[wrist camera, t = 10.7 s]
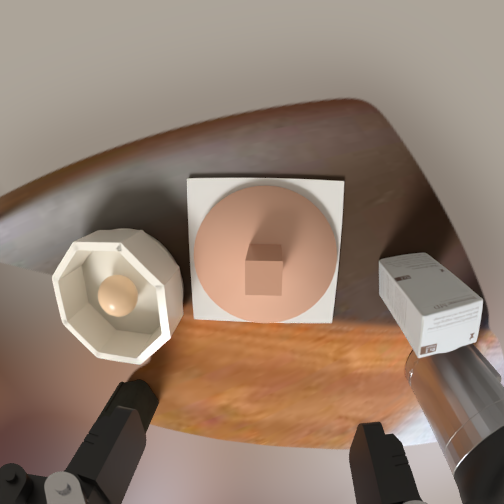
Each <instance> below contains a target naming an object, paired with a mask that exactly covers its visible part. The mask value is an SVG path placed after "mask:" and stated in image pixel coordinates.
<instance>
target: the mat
mask: <svg viewBox="0 0 504 504" xmlns="http://www.w3.org/2000/svg"><path fill="white" fill-rule="evenodd" d="M262 185H269V186H278V187H282V188H286V189H289V190H292V191H295V192H296V193H298V194H300V195H302V196H304V197H305V198H307V199H308V200H309V201H311V202H312V203H313V204H314V205H315V206H316V207H317V208H318V209H319V210H320V211H321V212H322V214H323V215H324V216H325V218H326V219H327V221H328V223H329V224H330V226H331V229H332V231H333V234H334V237H335V241H336V247H337V263H336V269H335V273H334V276H333V279H332V281H331V283H330V286H329V287H328V289H327V291H326V292H325V294H324V295H323V296H322V297H321V299H320V300H319V301H318V302H317V303H316V304H315V305H314V306H313V307H311V308H310V309H308V310H307V311H306V312H304V313H302V314H300V315H299V316H296V317H294V318H292V319H289V320H285V321H281V322H275V323H332V318H333V310H334V302H335V294H336V285H337V275H338V265H339V254H340V243H341V230H342V215H343V197H344V181H336V180H316V179H290V178H187V201H188V230H189V251H190V269H191V285H192V299H193V312H194V319H203V320H220V321H242V322H251V321H246V320H243V319H240V318H237V317H235V316H233V315H231V314H229V313H228V312H226V311H224V310H223V309H221V308H220V307H219V306H218V305H217V304H215V303H214V302H213V300H212V299H211V298H210V297H209V296H208V295H207V293H206V292H205V291H204V289H203V287H202V285H201V284H200V281H199V279H198V276H197V273H196V270H195V265H194V244H195V239H196V235H197V232H198V229H199V227H200V225H201V223H202V221H203V220H204V218H205V216H206V215H207V214H208V213H209V211H210V210H211V209H212V208H213V207H214V206H215V205H216V204H217V203H218V202H220V201H221V200H222V199H224V198H225V197H227V196H228V195H230V194H232V193H234V192H236V191H238V190H241V189H244V188H247V187H253V186H262Z"/></svg>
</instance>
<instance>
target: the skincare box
mask: <svg viewBox="0 0 504 504" xmlns="http://www.w3.org/2000/svg"><path fill="white" fill-rule="evenodd" d="M379 295H380V296H381V298H382V299H383V301H384V302H385V304H386V305H387V307H388V309H389V310H390V312H391V314H392V315H393V317H394V318H395V320H396V321H397V323H398V325H399V326H400V328H401V330H402V331H403V333H404V335H405V336H406V338H407V340H408V341H409V343H410V345H411V346H412V348H413V350H414V352H415V354H416V355H417V357H418V358H422V357H426V356H430V355H434V354H438V353H446V352H450V351H453V350H455V349H457V348H459V347H462V346H465V345H468V344H472V343H475V342H476V341H477V337H478V333H479V327H480V321H481V315H482V308H483V299H482V298H481V297H480V296H479V295H477V294H476V293H475V292H474V291H473V290H472V289H470V288H469V287H468V286H467V285H466V284H465V283H463V282H462V281H461V280H460V279H459V278H457V277H456V276H455V275H454V274H452V273H451V272H450V271H449V270H447V269H446V268H445V267H444V266H442V265H441V264H440V263H439V262H437V261H436V260H435V259H433V258H432V257H431V256H430V255H428V254H427V253H414V254H406V255H400V256H394V257H388V258H384V259H381V260H379Z"/></svg>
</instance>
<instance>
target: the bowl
mask: <svg viewBox="0 0 504 504" xmlns="http://www.w3.org/2000/svg"><path fill="white" fill-rule="evenodd" d="M112 275H123V276H125V277H127V278H129V279H130V280H131V281H132V282H133V283H134V284H135V286H136V288H137V291H138V301H137V304H136V307H135V308H134V310H133V311H132V312H131V313H129V314H128V315H125V316H122V317H116V316H112V315H109V314H108V313H106V312H105V311H104V310H103V309H102V307H101V306H100V304H99V301H98V290H99V287H100V285H101V283H102V282H103V281H104V280H105V279H106V278H107V277H109V276H112ZM52 280H53V285H54V290H55V295H56V299H57V303H58V308H59V312H60V315H61V319H62V323H63V324H64V325H65V326H66V327H67V329H69V330H70V331H71V333H72V334H73V335H75V337H76V338H77V339H79V340H80V341H81V343H83V345H85V346H86V347H87V348H88V349H89V350H90V351H91V352H92V353H93V354H94V355H95V356H96V357H97V358H102V359H107V360H113V361H119V362H126V363H132V364H138V365H141V364H142V363H143V362H144V361H145V360H147V359H148V358H149V357H150V356H151V355H152V354H153V353H154V352H156V351H157V350H158V349H159V348H160V347H161V346H162V345H163V344H164V343H165V342H167V341H168V340H169V339H170V338H171V336H172V334H173V332H174V331H175V329H176V327H177V325H178V323H179V321H180V320H181V318H182V316H183V314H184V313H183V299H184V284H183V279H182V275H181V272H180V267H179V266H178V265H177V263H176V261H175V259H174V258H173V256H172V255H171V253H170V252H169V251H168V250H167V249H166V248H165V246H164V245H162V244H161V243H160V242H159V241H158V240H156V239H155V238H154V237H152V236H150V235H149V234H147V233H145V232H144V231H143V230H136V229H131V228H117V229H113V230H98V231H95V232H93V233H91V234H89V235H87V236H85V237H83V238H81V239H79V240H76V241H74V242H73V243H72V245H71V247H70V248H69V250H68V251H67V253H66V255H65V256H64V258H63V259H62V261H61V263H60V264H59V266H58V268H57V269H56V271H55V273H54V275H53V276H52Z"/></svg>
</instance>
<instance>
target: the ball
mask: <svg viewBox="0 0 504 504" xmlns="http://www.w3.org/2000/svg"><path fill="white" fill-rule="evenodd" d="M98 301H99V304H100V306H101V307H102V309H103V310H104V311H105V312H106V313H108V314H109V315H112V316H116V317H122V316H125V315H128V314H129V313H131V312H132V311H133V310H134V308H135V307H136V304H137V301H138V291H137V288H136V286H135V284H134V283H133V282H132V281H131V280H130V279H129V278H127V277H125V276H123V275H112V276H109V277H107V278H106V279H105V280H104V281H103V282H102V283H101V285H100V287H99V290H98Z"/></svg>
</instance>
